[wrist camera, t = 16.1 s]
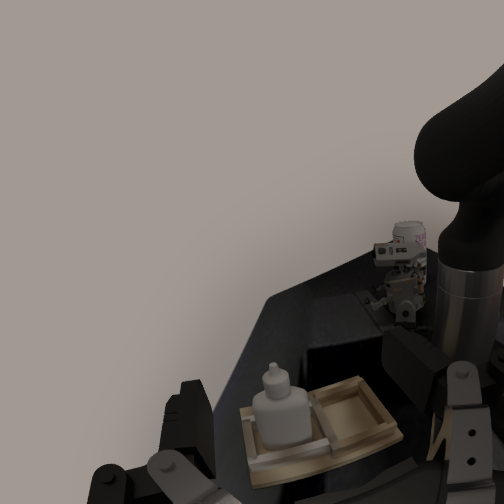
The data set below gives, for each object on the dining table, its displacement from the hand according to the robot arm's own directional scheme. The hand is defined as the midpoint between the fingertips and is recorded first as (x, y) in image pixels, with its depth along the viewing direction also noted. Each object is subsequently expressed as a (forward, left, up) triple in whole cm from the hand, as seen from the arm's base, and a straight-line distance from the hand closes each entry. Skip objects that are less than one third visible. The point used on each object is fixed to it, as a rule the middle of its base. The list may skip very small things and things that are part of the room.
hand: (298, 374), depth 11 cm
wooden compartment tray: (-4, -13, -21) cm, 25 cm away
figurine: (-27, -32, -21) cm, 47 cm away
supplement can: (-39, -43, -21) cm, 61 cm away
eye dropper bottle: (0, -12, -20) cm, 23 cm away
